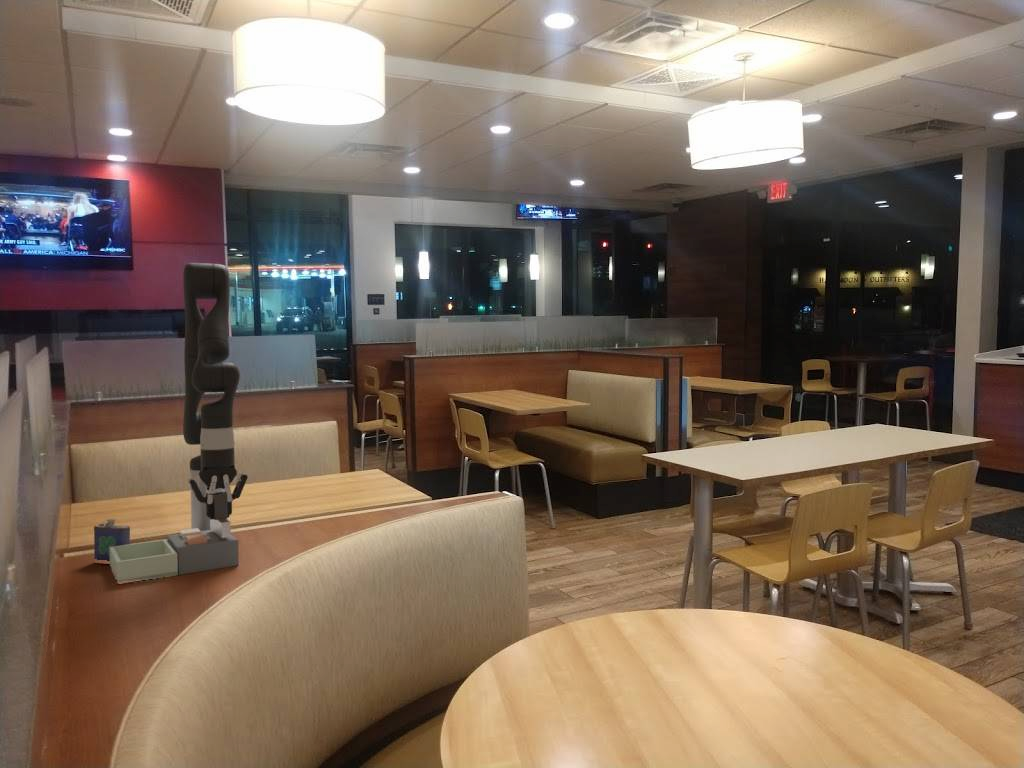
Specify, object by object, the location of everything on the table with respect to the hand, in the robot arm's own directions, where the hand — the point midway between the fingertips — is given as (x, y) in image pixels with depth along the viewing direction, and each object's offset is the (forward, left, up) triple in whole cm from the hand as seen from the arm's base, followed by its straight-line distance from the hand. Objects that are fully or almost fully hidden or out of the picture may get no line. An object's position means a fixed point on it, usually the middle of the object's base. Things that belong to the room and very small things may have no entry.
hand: (219, 517), depth 179 cm
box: (0, -17, -10) cm, 20 cm away
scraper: (+1, 0, -4) cm, 4 cm away
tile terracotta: (+4, -6, -4) cm, 8 cm away
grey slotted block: (0, -4, -10) cm, 11 cm away
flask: (-12, -22, -11) cm, 27 cm away
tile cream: (-3, -6, -4) cm, 8 cm away
